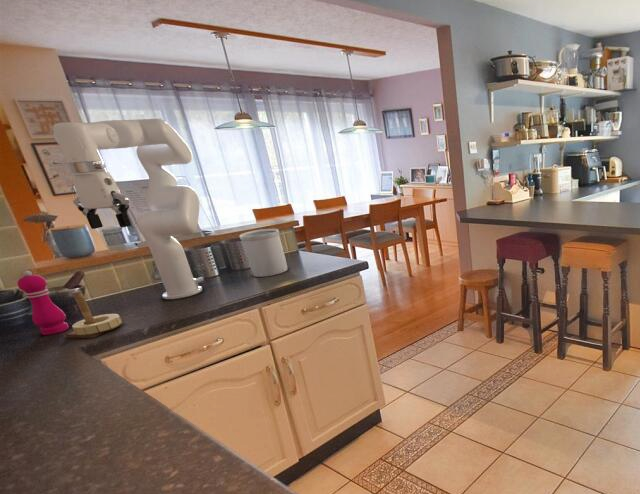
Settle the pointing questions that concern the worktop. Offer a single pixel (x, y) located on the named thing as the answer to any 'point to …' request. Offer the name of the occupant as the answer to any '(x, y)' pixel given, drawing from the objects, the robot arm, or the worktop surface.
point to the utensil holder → (264, 252)
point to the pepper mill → (42, 305)
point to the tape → (97, 324)
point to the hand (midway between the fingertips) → (111, 227)
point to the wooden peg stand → (85, 316)
